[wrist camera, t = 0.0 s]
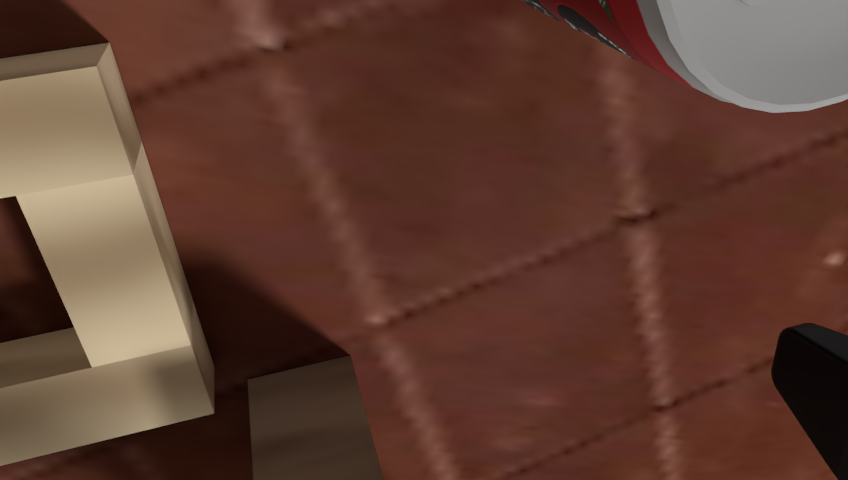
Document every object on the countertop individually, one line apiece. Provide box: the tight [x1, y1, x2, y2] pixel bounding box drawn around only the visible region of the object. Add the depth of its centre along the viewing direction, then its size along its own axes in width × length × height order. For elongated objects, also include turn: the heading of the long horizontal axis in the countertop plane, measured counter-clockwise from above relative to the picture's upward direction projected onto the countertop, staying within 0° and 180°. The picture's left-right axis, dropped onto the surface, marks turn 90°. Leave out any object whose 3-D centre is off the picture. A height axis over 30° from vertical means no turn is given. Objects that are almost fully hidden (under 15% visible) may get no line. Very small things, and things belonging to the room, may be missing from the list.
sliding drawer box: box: [248, 355, 383, 480], centre depth 24 cm, size 4×4×8 cm
